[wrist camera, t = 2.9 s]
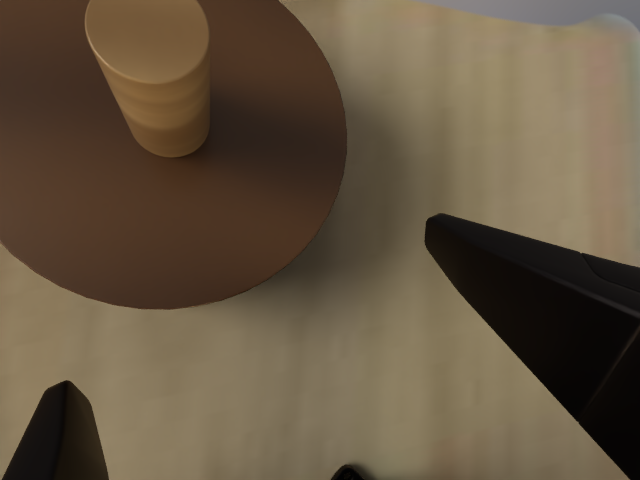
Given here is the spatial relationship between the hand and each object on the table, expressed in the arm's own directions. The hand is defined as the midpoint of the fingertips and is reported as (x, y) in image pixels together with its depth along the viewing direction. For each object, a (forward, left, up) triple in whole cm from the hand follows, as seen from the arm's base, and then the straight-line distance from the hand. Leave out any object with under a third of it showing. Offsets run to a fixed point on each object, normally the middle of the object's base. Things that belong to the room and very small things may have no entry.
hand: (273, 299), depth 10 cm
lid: (+3, +7, -7) cm, 10 cm away
